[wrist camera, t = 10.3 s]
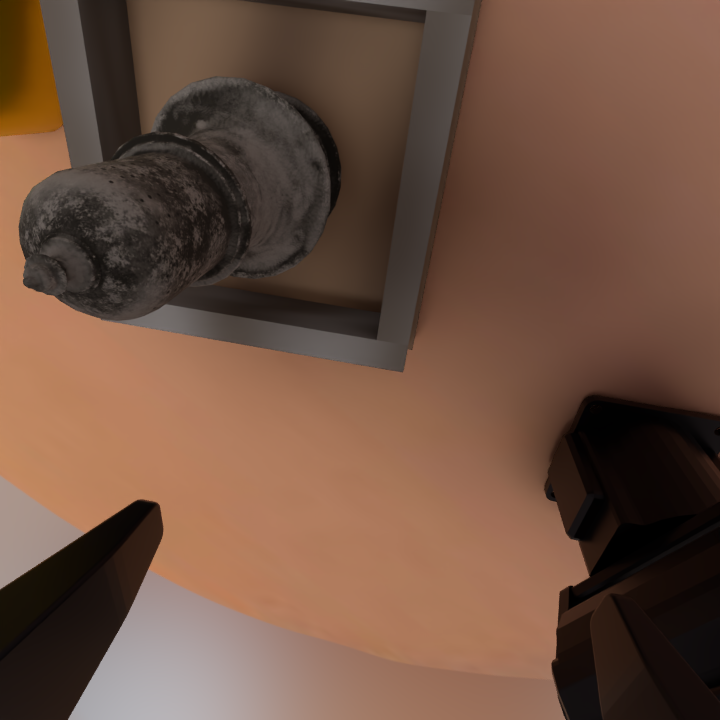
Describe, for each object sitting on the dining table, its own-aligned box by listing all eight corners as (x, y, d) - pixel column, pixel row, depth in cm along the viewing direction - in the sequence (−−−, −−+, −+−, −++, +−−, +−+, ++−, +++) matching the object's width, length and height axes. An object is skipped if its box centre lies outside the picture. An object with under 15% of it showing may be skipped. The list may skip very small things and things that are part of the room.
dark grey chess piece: (335, 263, 19) (211, 471, 8) (196, 231, 19) (-96, 395, 8) (363, 100, 16) (221, 105, 5) (196, 63, 16) (-258, -2, 5)
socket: (484, -24, 14) (498, -59, 11) (413, 337, 21) (409, 380, 18) (96, -69, 15) (7, -112, 12) (144, 292, 22) (95, 325, 19)
